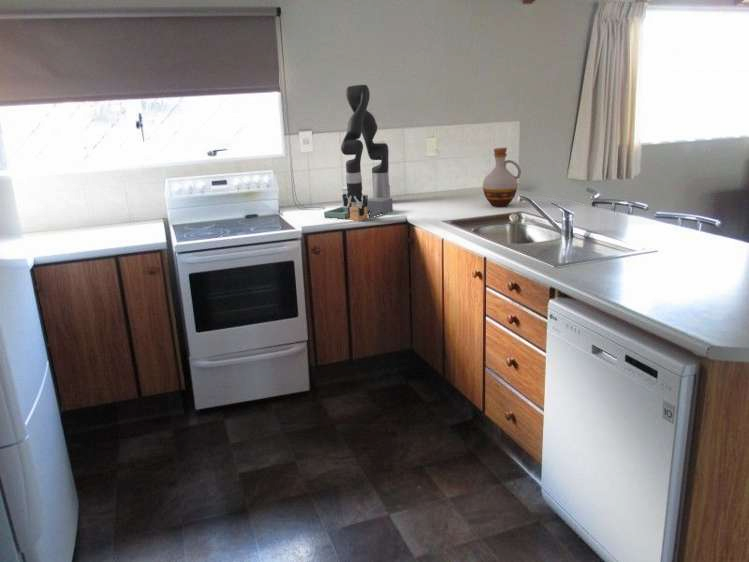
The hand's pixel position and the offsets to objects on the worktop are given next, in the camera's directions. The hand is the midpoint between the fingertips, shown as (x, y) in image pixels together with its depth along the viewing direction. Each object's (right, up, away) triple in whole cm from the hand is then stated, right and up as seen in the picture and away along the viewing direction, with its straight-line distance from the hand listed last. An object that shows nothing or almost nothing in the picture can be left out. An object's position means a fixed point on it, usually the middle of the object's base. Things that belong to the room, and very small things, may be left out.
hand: (356, 215), depth 315 cm
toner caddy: (+1, -2, +2) cm, 4 cm away
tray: (-7, +1, +14) cm, 16 cm away
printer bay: (+9, +2, +14) cm, 16 cm away
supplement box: (-3, +6, +29) cm, 29 cm away
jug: (+76, +7, +19) cm, 79 cm away
